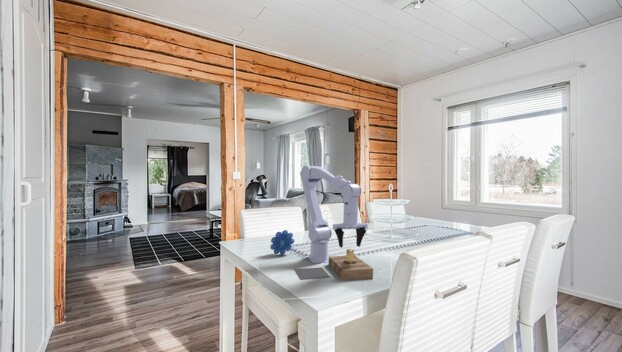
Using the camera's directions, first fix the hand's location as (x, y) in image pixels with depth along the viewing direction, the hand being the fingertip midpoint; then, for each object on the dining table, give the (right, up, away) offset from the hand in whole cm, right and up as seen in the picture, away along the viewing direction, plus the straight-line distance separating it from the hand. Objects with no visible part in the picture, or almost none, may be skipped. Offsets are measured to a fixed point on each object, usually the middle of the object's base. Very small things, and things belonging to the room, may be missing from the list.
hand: (349, 246), depth 118 cm
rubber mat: (-16, -10, -4) cm, 19 cm away
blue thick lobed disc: (-30, -10, +23) cm, 39 cm away
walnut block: (0, -10, 0) cm, 10 cm away
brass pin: (0, -10, 0) cm, 10 cm away
